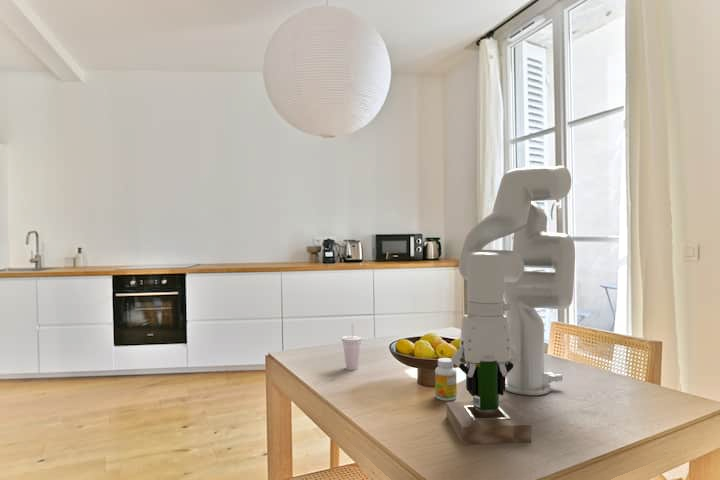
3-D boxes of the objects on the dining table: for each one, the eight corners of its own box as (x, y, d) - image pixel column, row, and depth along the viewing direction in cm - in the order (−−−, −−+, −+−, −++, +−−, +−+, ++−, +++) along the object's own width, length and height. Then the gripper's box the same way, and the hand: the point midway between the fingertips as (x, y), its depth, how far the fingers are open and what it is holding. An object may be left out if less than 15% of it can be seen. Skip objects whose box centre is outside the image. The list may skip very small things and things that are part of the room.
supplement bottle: (431, 395, 124) (430, 358, 124) (448, 392, 126) (448, 356, 126) (442, 402, 119) (442, 363, 119) (460, 399, 121) (460, 361, 121)
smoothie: (366, 367, 150) (365, 323, 150) (355, 372, 145) (354, 326, 144) (349, 364, 154) (348, 321, 153) (337, 369, 148) (337, 324, 148)
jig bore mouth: (497, 405, 107) (497, 404, 107) (510, 419, 99) (510, 418, 99) (463, 406, 106) (463, 405, 106) (473, 420, 99) (473, 419, 99)
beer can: (487, 415, 99) (486, 358, 99) (467, 407, 103) (467, 352, 103) (504, 410, 102) (504, 354, 102) (484, 402, 106) (484, 349, 106)
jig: (506, 415, 110) (506, 400, 110) (531, 442, 96) (531, 424, 96) (446, 417, 109) (446, 402, 109) (463, 444, 95) (462, 427, 95)
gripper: (517, 306, 107) (517, 387, 107) (442, 307, 106) (442, 389, 106) (531, 311, 99) (531, 398, 99) (450, 313, 98) (450, 400, 98)
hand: (485, 392), depth 103 cm, fingers closed on beer can, 5 cm apart
